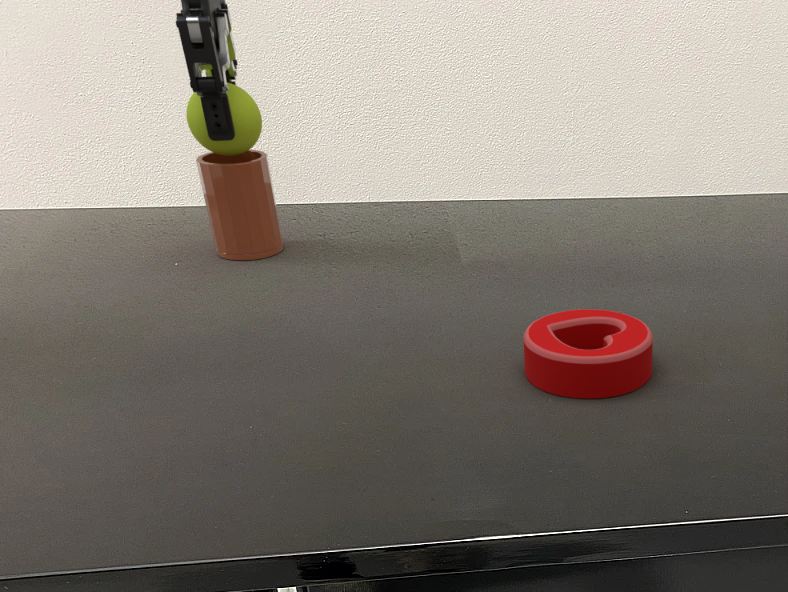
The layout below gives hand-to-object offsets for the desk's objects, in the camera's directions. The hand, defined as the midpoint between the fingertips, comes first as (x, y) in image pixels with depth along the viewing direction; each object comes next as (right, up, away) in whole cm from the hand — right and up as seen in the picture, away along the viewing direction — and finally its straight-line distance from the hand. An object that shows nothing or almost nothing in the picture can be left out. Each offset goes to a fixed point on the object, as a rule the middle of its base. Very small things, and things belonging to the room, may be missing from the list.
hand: (226, 130), depth 89 cm
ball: (0, -2, +1) cm, 2 cm away
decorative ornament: (+34, -24, -16) cm, 45 cm away
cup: (0, -10, +6) cm, 11 cm away
